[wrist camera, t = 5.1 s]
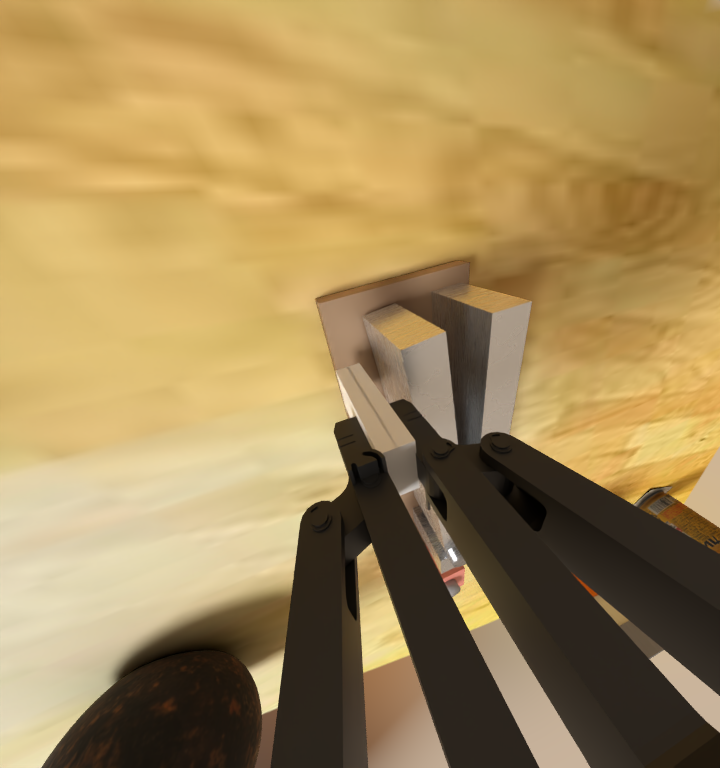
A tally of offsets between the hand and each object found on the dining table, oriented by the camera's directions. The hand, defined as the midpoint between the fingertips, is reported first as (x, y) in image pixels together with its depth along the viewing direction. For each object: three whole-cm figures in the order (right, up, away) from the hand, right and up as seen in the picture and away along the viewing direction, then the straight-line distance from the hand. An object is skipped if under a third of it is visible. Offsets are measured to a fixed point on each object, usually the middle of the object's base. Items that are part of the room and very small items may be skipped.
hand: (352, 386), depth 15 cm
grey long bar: (+6, -4, +6) cm, 10 cm away
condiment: (+56, -22, +36) cm, 71 cm away
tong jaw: (+4, -4, +5) cm, 7 cm away
